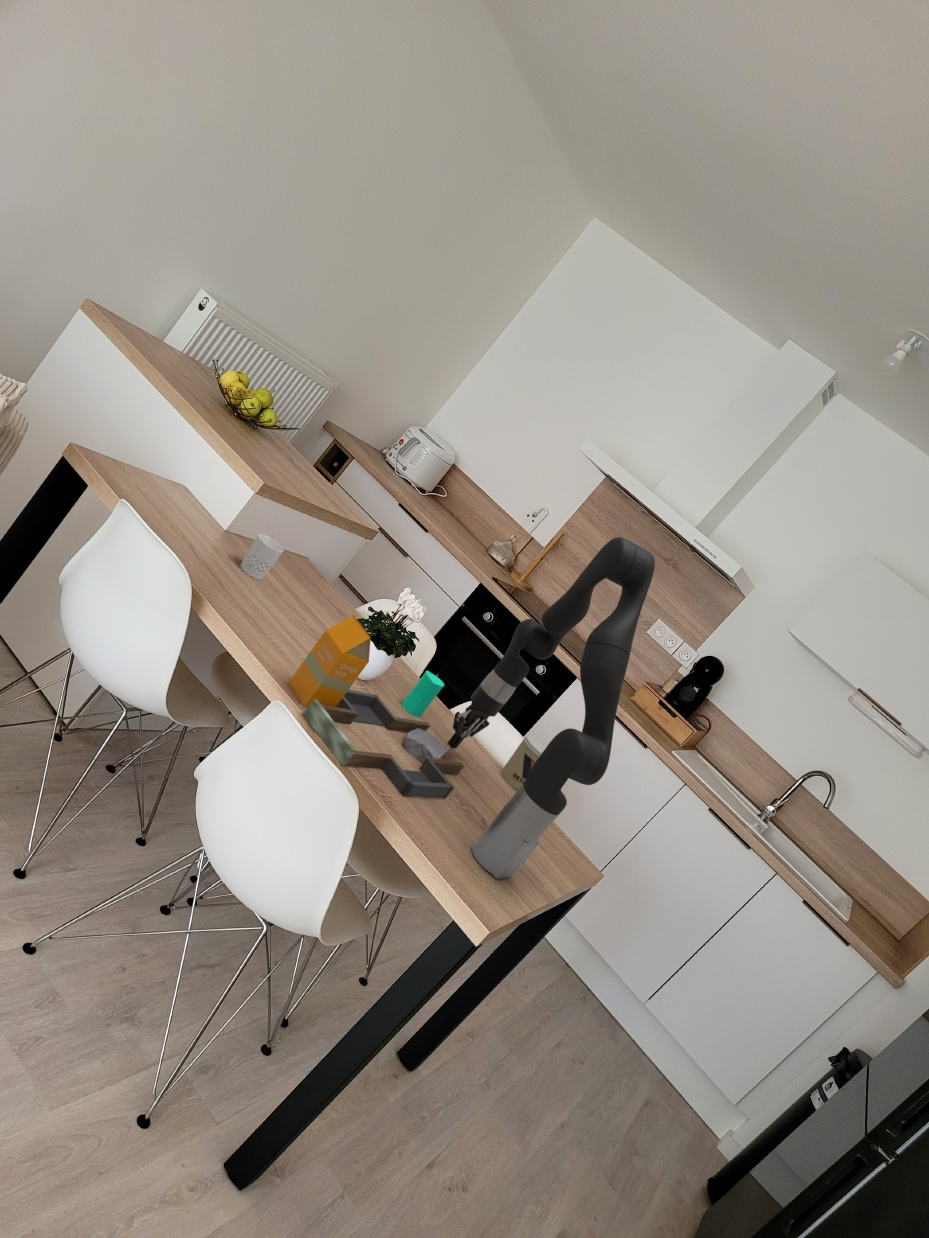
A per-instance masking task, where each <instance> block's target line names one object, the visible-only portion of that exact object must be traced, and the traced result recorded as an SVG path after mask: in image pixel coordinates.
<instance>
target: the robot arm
mask: <svg viewBox="0 0 929 1238" xmlns="http://www.w3.org/2000/svg"><path fill="white" fill-rule="evenodd" d="M655 567H656V559H655V556H654V555H653V553H652V552H650V551H648V550H647V549H646V548H644V547H642V546H639V545H638V544H636V543H634V542H633V541H631V540H629V539H627V538H624V537H620V536H617V537H614V538H612V539H610V540H609V541H607V542H606V543H605V544H604V545H603V546H602V547H601V549H600V550H599V551H598V552H597V553H596V554H595V556H594V557H593V558H592V559H591V560H590V562H589V564H587V566H586V567H585V568H584V570H583V571H582V572H581V573H580V575H579V576H578V577H577V579H576V580H575V581H574V583H573V584H572V585H571V586H570V587H569V588H568V590H566V592H565V593H564V594H563V595H562V596H560V597H559V599H557V600H556V601H555V602H554V603H553V604H552V605H550V607H548V608H547V609H546V610H545V611H544V613H543V614H542V616H541V622H542V625H541V623H539V622H538V621H536V620H535V619H533V618H526V619H524V620H522V621H521V622H520V623H518V625H516V629H515V631H514V633H513V635H512V637H511V638H512V639H511V641H510V642H509V643H510V644H509V645H508V647H507V649H506V651H505V653H504V655H503V657H502V658H501V659H500V660H499V662H498V663H497V664H496V666H495V667H493V669H492V670H491V672H489V673H488V674H487V675H486V677H484V679H483V680H482V681H481V683H480V684H479V685H478V686H477V688H476V689H475V691H474V692H473V693H472V694H471V695H470V701H471V703H470V705H468V706H467V707H466V708H465V710H464V711H462V712H461V713H460V711H457V712H456V713H455V715H454V717H453V724H452V729H453V730H454V731H455V732H454V733H453V735H452V736H451V737H450V739H449V740H448V741H447V745H448V746H449V747H450V748H451V749H455V750H456V749H457V748H458V747H459V746H460V744H461V743H462V742H463V741H464V739H467V738H469V737H473V736H475V735H477V734H478V733H479V732H481V731H483V730H484V729H485V728H487V727H488V726H489V725H490V724H491V723H490V721H488V719H489V718H490V717H493V718H494V717H496V715H498V713H499V712H500V711H501V709H502V708H503V707H504V706H505V705H506V704H507V702H508V701H509V699H510V698H511V697H512V695H513V694H514V692H515V691H516V689H517V688H518V686H519V685H520V684H521V683H522V681H523V680H524V679H525V678H526V676H527V675H528V674H529V672H530V666H529V664H528V663H527V662H526V660H525V659H524V658H523V657H522V656H521V655H520V652H521V650H522V649H523V650H525V651H526V652H527V653H528V654H530V655H531V656H533V657H534V658H536V659H538V660H541V661H542V660H543V661H544V660H548V659H549V658H551V657H552V656H553V655H554V654H555V652H556V650H557V648H558V647H559V644H560V643H561V641H562V640H563V638H564V637H565V636H566V635H567V634H568V633H569V632H570V631H571V630H572V629H573V628H575V627H576V626H577V625H578V624H580V622H582V621H583V620H584V618H586V616H587V614H588V612H589V610H590V605H591V602H592V601H591V600H592V596H593V591H594V588H596V586H597V585H598V584H599V583H600V582H602V581H604V580H605V579H606V580H609V581H610V582H612V583H614V584H616V585H618V586H620V587H621V593H620V598H619V600H618V602H617V605H616V607H615V608H614V610H613V611H612V613H611V614H610V615H608V616H607V617H606V618H605V619H604V620H603V621H601V623H599V624H598V625H597V626H596V627H595V628H594V629H593V630H592V631H591V632H590V634H589V635H588V636H587V639H586V641H585V645H584V650H583V653H582V657H581V659H580V660H581V661H580V666H579V675H580V678H579V679H580V683H581V690H582V696H583V700H584V701H583V702H584V710H585V711H584V720H583V726H582V731H580V730H578V729H576V728H573V727H572V728H571V727H570V728H569V727H568V728H565V729H562V730H561V731H559V732H558V733H557V734H556V735H555V736H554V737H553V738H552V739H551V741H550V742H549V743H548V744H547V745H546V746H547V747H546V748H545V750H544V751H543V752H542V754H541V755H540V757H539V758H538V759H537V761H536V762H535V763H534V765H533V766H532V768H531V770H530V773H529V776H528V778H527V780H526V781H525V782H524V784H523V785H522V786H521V787H520V788H519V790H516V793H514V795H513V796H512V797H511V798H510V799H509V800H508V802H507V803H506V804H505V805H504V806H503V808H502V809H501V810H500V811H499V812H498V814H497V815H496V816H495V818H494V819H493V820H492V822H490V823H489V825H488V826H487V827H486V829H485V830H484V831H483V833H482V834H481V835H480V836H479V837H478V838H477V840H476V841H475V842H474V844H472V846H471V852H472V854H473V856H474V858H475V860H476V861H477V862H478V863H479V865H480V866H481V867H482V868H484V869H485V871H487V872H488V873H490V874H491V875H492V876H493V877H494V878H495V879H497V880H499V879H500V880H501V879H507V878H509V879H510V878H512V877H513V876H514V875H515V874H516V873H517V871H518V870H519V869H520V868H521V866H522V865H523V864H524V863H525V862H526V860H527V859H528V858H529V857H530V855H531V854H532V853H533V852H534V850H535V849H537V847H538V846H539V844H540V842H539V841H538V840H539V839H540V838H541V837H542V835H544V833H546V831H547V830H548V828H549V827H550V826H551V825H552V824H553V823H554V821H555V820H556V819H557V818H558V816H560V815H561V813H562V812H563V811H564V809H565V808H566V806H567V804H568V803H567V802H568V800H567V798H566V795H565V794H564V793H563V791H562V788H563V787H564V786H565V784H566V783H567V781H568V780H569V779H570V780H572V781H574V782H576V783H579V784H581V785H584V786H592V785H595V784H596V783H598V782H599V781H600V780H601V779H602V778H603V777H604V775H605V773H606V771H607V768H608V765H609V761H610V759H611V751H612V744H613V737H614V729H615V728H614V727H615V722H616V721H615V720H616V715H617V711H618V706H619V701H620V696H621V692H622V688H623V684H624V680H625V676H626V673H627V669H628V664H629V661H630V658H631V657H630V656H631V652H632V646H633V643H634V638H635V633H636V630H637V625H638V622H639V620H640V619H639V618H640V615H641V613H642V612H641V611H642V609H643V606H644V603H645V601H646V597H647V595H648V591H649V589H650V587H651V583H652V580H653V577H654V573H655Z"/></svg>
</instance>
